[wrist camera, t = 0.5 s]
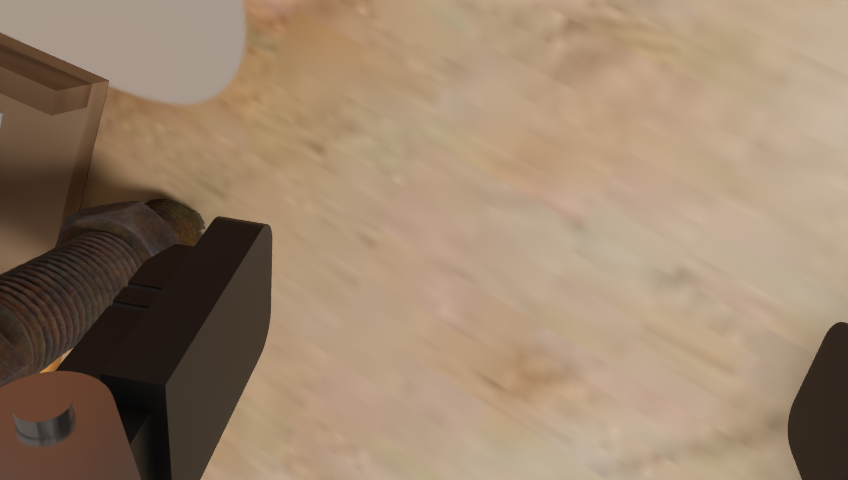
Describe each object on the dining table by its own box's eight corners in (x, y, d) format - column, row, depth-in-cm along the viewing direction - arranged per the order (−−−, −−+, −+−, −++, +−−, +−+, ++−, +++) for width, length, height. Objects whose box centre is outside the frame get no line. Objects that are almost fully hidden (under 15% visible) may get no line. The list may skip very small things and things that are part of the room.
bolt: (213, 308, 35) (-34, 524, 21) (111, 265, 35) (-200, 449, 21) (247, 190, 33) (-3, 341, 19) (138, 146, 33) (-187, 262, 19)
